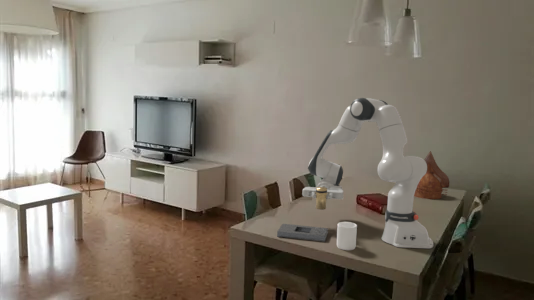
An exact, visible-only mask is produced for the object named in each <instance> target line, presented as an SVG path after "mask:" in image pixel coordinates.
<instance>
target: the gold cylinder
mask: <svg viewBox="0 0 534 300" xmlns="http://www.w3.org/2000/svg"><path fill="white" fill-rule="evenodd" d="M316 187H317V186H316ZM326 195H327V188H326V187H317V188H316V198H315V209H316V210H321V211H322V210H323V211H324V210H326V209H327V199H326Z"/></svg>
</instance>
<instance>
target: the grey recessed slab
mask: <svg viewBox="0 0 534 300" xmlns="http://www.w3.org/2000/svg"><path fill="white" fill-rule="evenodd" d="M276 234H277V235H276V236H277V237H278V238H287V239H297V240H307V241H315V242H316V241H317V242H326V239H327V236H328V234H329V229H328V227H321V226H320V227H319V226H312V225H311V226H309V225H298V224H288V223H282V224H281V226H280V227H279V229H278V230H277V233H276Z"/></svg>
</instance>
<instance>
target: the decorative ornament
mask: <svg viewBox="0 0 534 300" xmlns="http://www.w3.org/2000/svg"><path fill="white" fill-rule="evenodd" d="M423 159H424V160H425V162H426V164H427V172H426V174H425V175H424V176H423V177H422V178H421V180H420V181H419V183H418V185H417V188H416V190H415V194H414V197H415V198H418V199H424V200H426V199H427V200H440V199H442V198H443V195H444V196H447V195H448V194H447V193H448V189H447V188H450V178H449V176H448V174H447V173H445V172H444V171H443V170H442V169H441V167H439V166H438V164H437V162H436V159H435V158H434V155H433V154H432V151H429V152H428V153H427V155H426V156H425V157H424V158H423Z"/></svg>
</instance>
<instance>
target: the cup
mask: <svg viewBox="0 0 534 300" xmlns="http://www.w3.org/2000/svg"><path fill="white" fill-rule="evenodd" d="M357 228H358V224H356V223H354V222H351V221H341V222H338V223H337V229H336V247H337V248H338V249H340V250H343V251H353V250H355V249H356V248H357V247H356V246H357V231H358V229H357Z"/></svg>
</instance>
